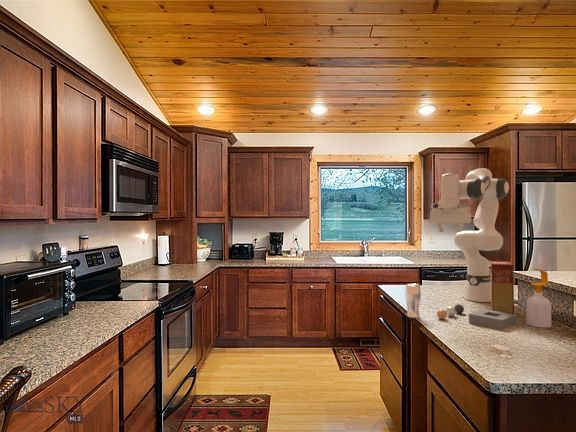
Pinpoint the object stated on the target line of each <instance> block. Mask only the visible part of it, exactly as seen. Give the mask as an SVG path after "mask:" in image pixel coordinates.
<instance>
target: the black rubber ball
mask: <svg viewBox="0 0 576 432" xmlns="http://www.w3.org/2000/svg"><path fill="white" fill-rule="evenodd" d="M453 308H454V309H455V310H456V313H457V314H463V313H464V311H465V307H464V306H463V304H460V303H457V304H455V306H454V307H453Z"/></svg>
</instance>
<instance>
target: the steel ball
mask: <svg viewBox="0 0 576 432" xmlns="http://www.w3.org/2000/svg"><path fill="white" fill-rule="evenodd" d="M445 311H446V312H447V317H448V316H449V317H454V316H455V315H456V310H455V309H454V307H453V306H448V307H446V309H445Z"/></svg>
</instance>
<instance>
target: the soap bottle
mask: <svg viewBox="0 0 576 432" xmlns="http://www.w3.org/2000/svg"><path fill="white" fill-rule="evenodd" d="M531 269H532V270H536V271H538V272H540V282H536V283H535V282H531V283H530V285H531V286H534V288H535V289H534V290H533V295H532V296H529V297H528V298H526V300H525V321H526V322H525V323H526V325H528V326H531V327H535V328H541V329H542V328H543V329H547V328H551V327H552V302H551V301H550V300H549V299H548V298H546V297H545V296H544V295H543V294H544V293H543V292H544V291H543V290H541V288H542V287H543V286H547V285H548V281H549V280H548V279H549V278H548V277H549V275H548V272H547V271H546V270H543V269H539V268H535V267H531Z"/></svg>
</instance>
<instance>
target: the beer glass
mask: <svg viewBox="0 0 576 432" xmlns="http://www.w3.org/2000/svg"><path fill="white" fill-rule="evenodd" d="M421 290H422V288H421V284H418V283H406V284H405V302H406V307H407V311H406V317H408V318H410V319H421V315H420V314H421V313H420V306H421V299H422V291H421Z"/></svg>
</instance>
